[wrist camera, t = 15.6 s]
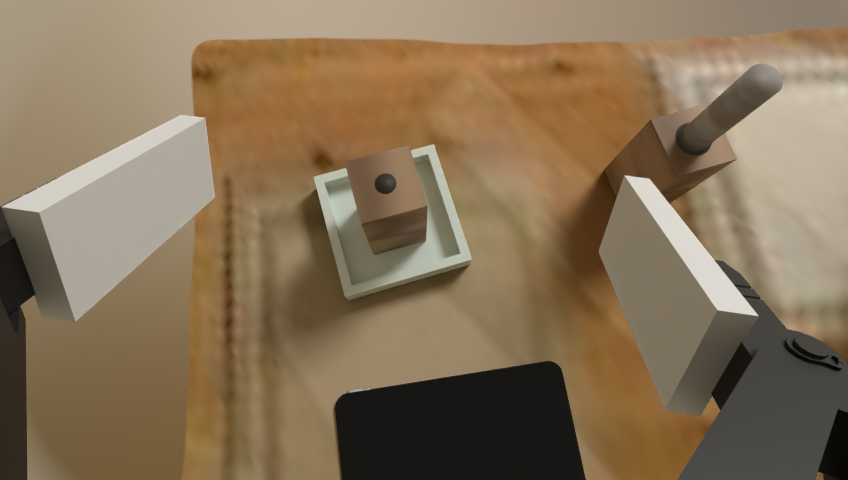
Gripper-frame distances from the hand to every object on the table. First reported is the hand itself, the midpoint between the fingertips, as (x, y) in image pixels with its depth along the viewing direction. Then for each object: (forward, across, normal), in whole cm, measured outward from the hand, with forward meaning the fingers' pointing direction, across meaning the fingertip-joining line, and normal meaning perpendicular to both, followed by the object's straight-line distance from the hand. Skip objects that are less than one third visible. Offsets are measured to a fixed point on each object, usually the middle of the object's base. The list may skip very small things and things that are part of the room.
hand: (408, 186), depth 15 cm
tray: (+26, -3, -16) cm, 31 cm away
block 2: (+31, +20, -11) cm, 39 cm away
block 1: (+25, -3, -15) cm, 30 cm away
